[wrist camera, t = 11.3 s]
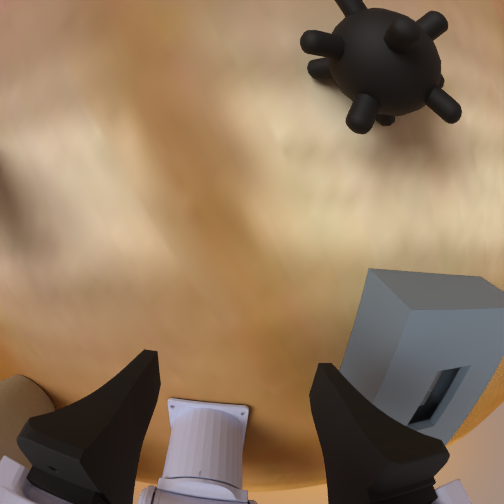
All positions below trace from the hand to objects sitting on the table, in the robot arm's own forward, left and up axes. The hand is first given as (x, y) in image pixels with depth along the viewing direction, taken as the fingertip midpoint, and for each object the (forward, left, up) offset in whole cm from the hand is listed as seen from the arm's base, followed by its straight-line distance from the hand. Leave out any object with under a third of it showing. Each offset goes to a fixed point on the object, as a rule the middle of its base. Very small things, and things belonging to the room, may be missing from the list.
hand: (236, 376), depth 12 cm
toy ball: (+17, -7, -11) cm, 21 cm away
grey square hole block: (-7, -17, -10) cm, 21 cm away
